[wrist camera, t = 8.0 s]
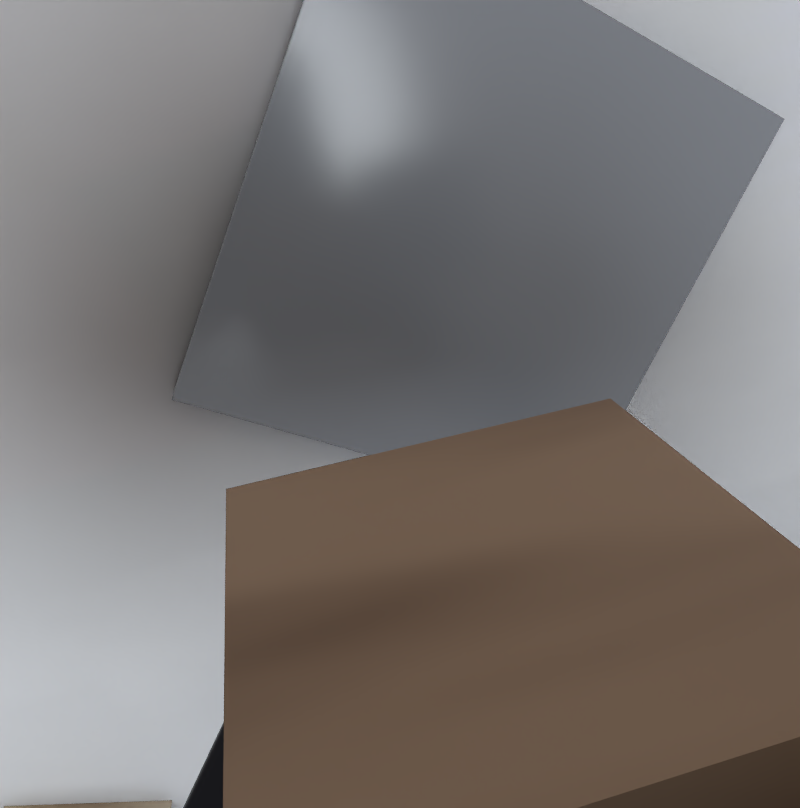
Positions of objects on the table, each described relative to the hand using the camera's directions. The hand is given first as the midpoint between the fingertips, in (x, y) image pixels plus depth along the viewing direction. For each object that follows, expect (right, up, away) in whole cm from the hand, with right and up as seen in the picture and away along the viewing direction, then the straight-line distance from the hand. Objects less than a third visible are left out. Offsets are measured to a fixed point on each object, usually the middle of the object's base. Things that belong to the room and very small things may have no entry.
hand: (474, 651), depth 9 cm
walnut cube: (0, 0, +1) cm, 1 cm away
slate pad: (+1, +7, +9) cm, 12 cm away
